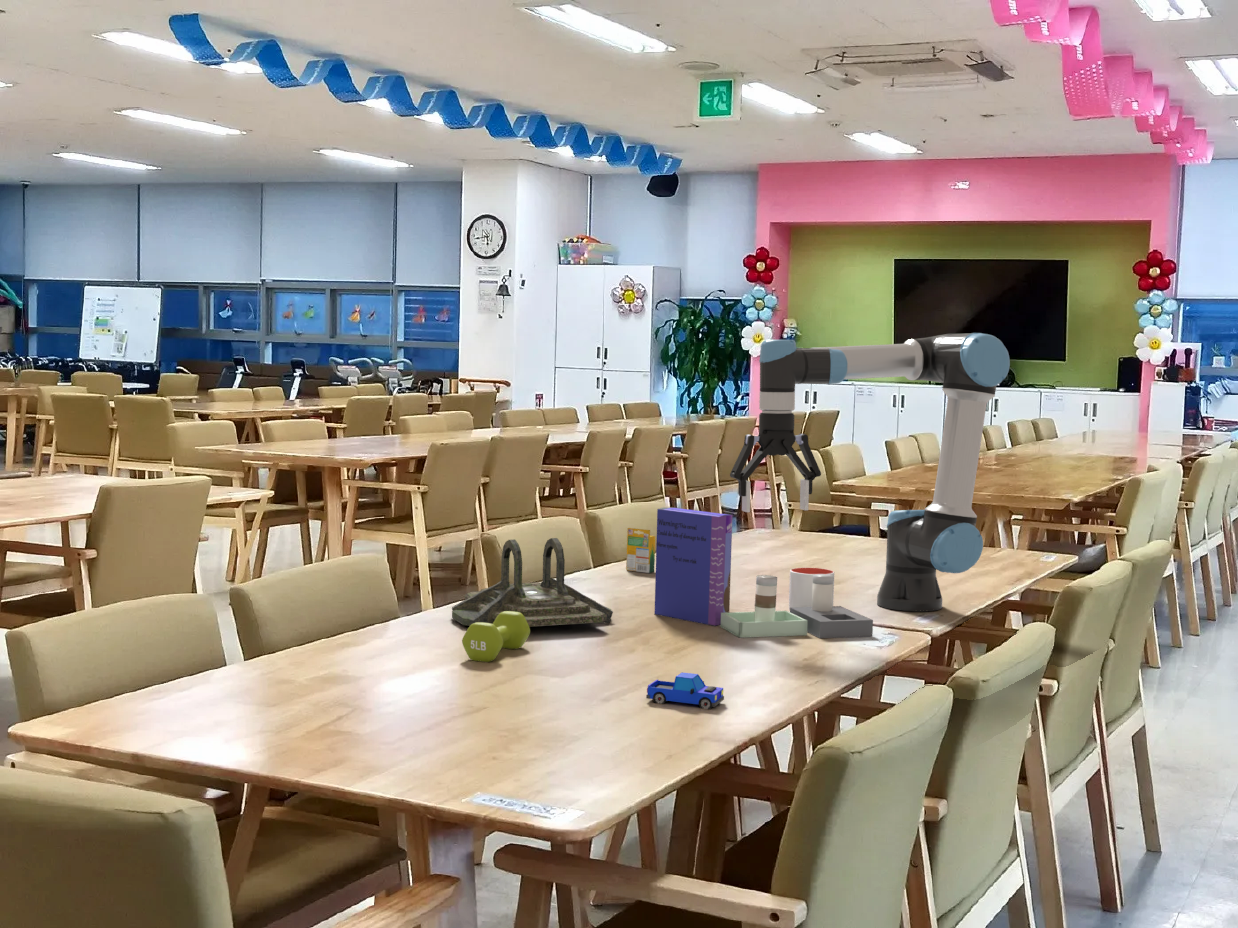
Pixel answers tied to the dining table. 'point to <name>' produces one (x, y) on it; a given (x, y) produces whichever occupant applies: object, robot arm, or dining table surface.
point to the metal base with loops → (531, 595)
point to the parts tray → (763, 624)
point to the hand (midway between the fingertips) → (775, 510)
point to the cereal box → (693, 565)
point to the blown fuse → (765, 598)
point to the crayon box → (640, 551)
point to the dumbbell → (495, 636)
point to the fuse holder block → (831, 614)
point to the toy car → (685, 691)
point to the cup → (804, 586)
